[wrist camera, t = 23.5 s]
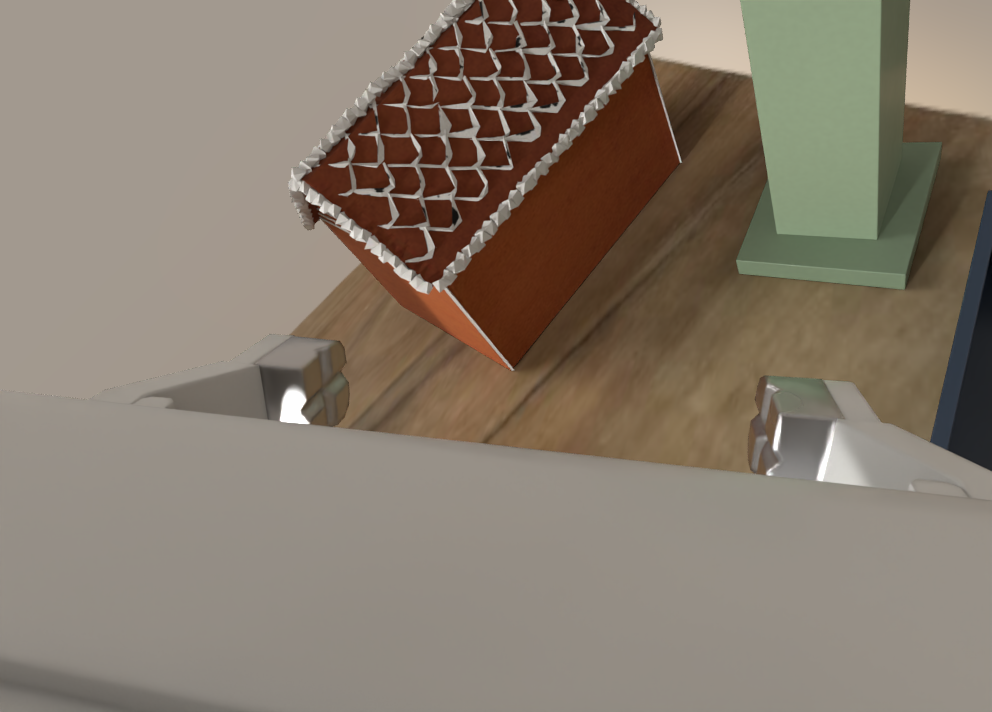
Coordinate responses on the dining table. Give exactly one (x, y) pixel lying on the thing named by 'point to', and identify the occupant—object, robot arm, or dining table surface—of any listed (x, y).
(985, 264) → the open rectangular box
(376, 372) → the dining table surface
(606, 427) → the dining table surface
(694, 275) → the dining table surface
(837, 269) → the stand
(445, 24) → the gingerbread house
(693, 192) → the dining table surface
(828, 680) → the robot arm
